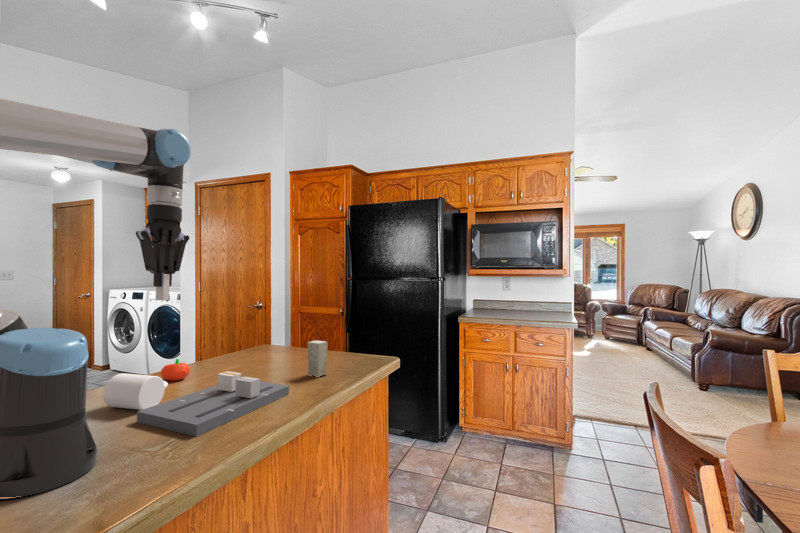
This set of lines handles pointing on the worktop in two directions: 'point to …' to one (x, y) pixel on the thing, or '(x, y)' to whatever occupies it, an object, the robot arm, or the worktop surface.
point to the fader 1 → (227, 381)
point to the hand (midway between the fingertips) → (162, 299)
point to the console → (207, 409)
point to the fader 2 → (247, 387)
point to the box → (317, 358)
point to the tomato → (175, 371)
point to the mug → (134, 391)
